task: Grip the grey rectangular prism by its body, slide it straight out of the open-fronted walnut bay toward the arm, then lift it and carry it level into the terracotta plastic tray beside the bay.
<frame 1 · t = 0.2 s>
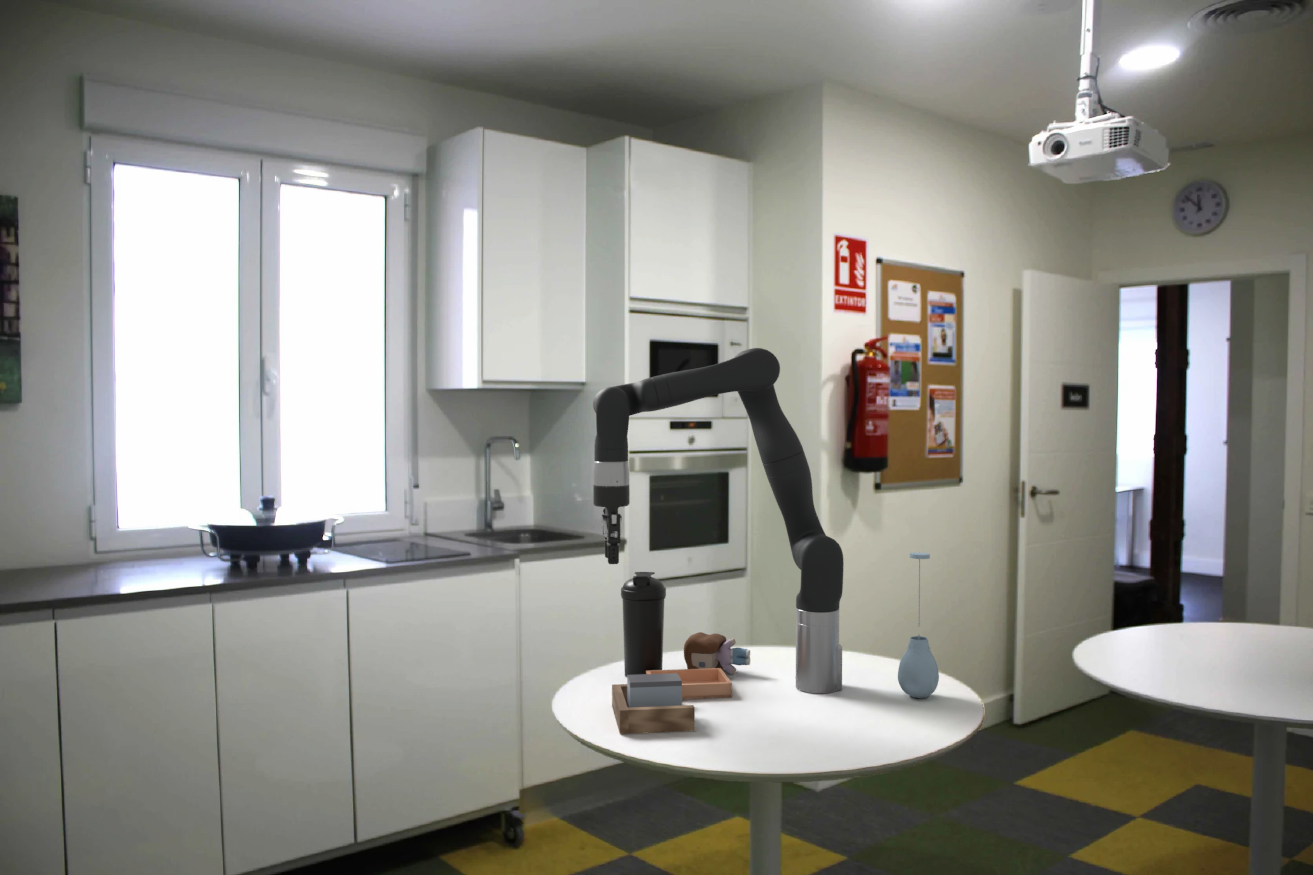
hand: (611, 560, 202), 28 cm above the table, fingers open, 8 cm apart
bay: (651, 717, 189), on the table
toy: (717, 673, 222), on the table
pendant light: (918, 697, 203), on the table
water bottle: (643, 675, 220), on the table
tray: (687, 690, 208), on the table
grey rectangular prism: (654, 718, 189), on the table
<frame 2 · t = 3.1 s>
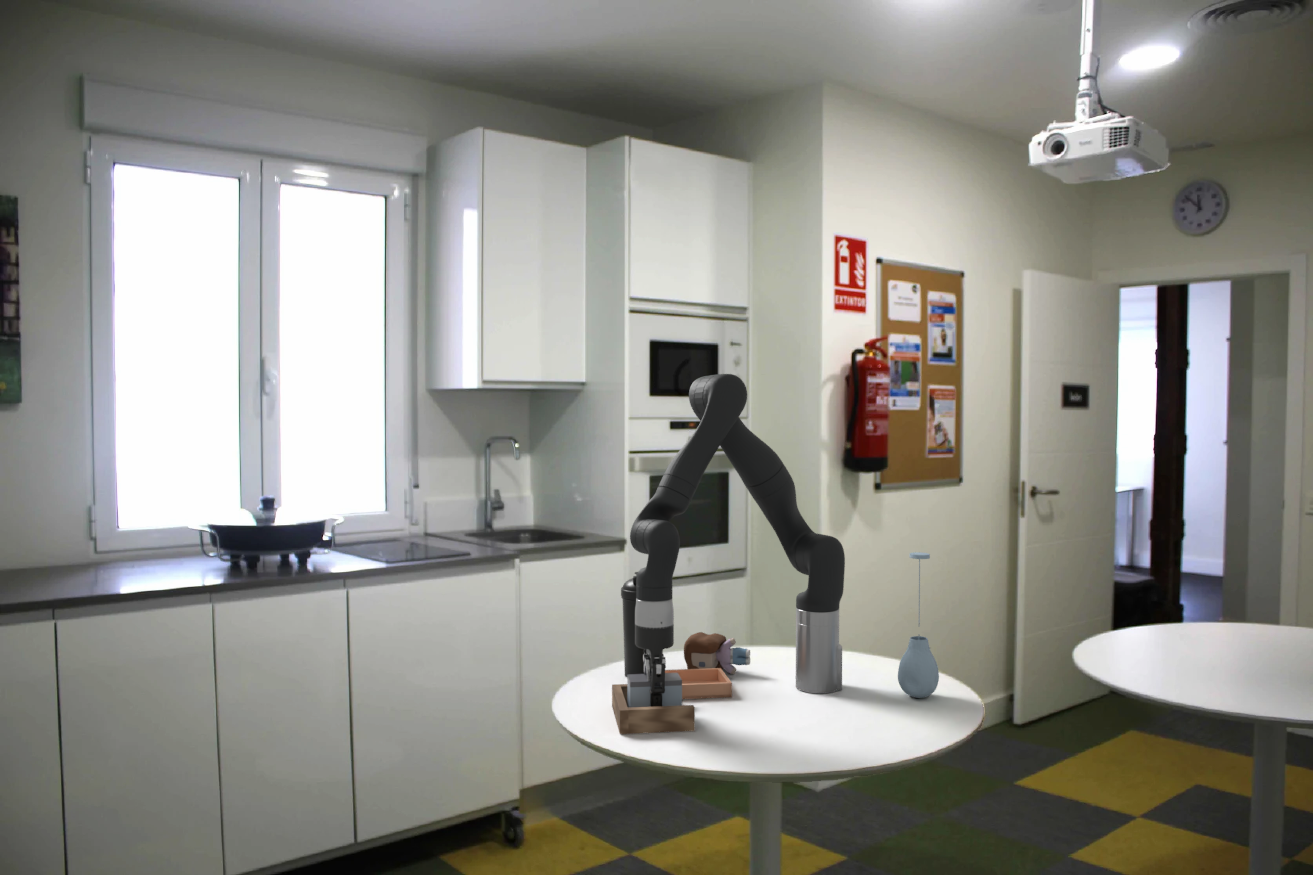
hand: (654, 707, 189), 2 cm above the table, fingers closed on grey rectangular prism, 5 cm apart
grey rectangular prism: (654, 718, 189), on the table, touching gripper
everything else where it was.
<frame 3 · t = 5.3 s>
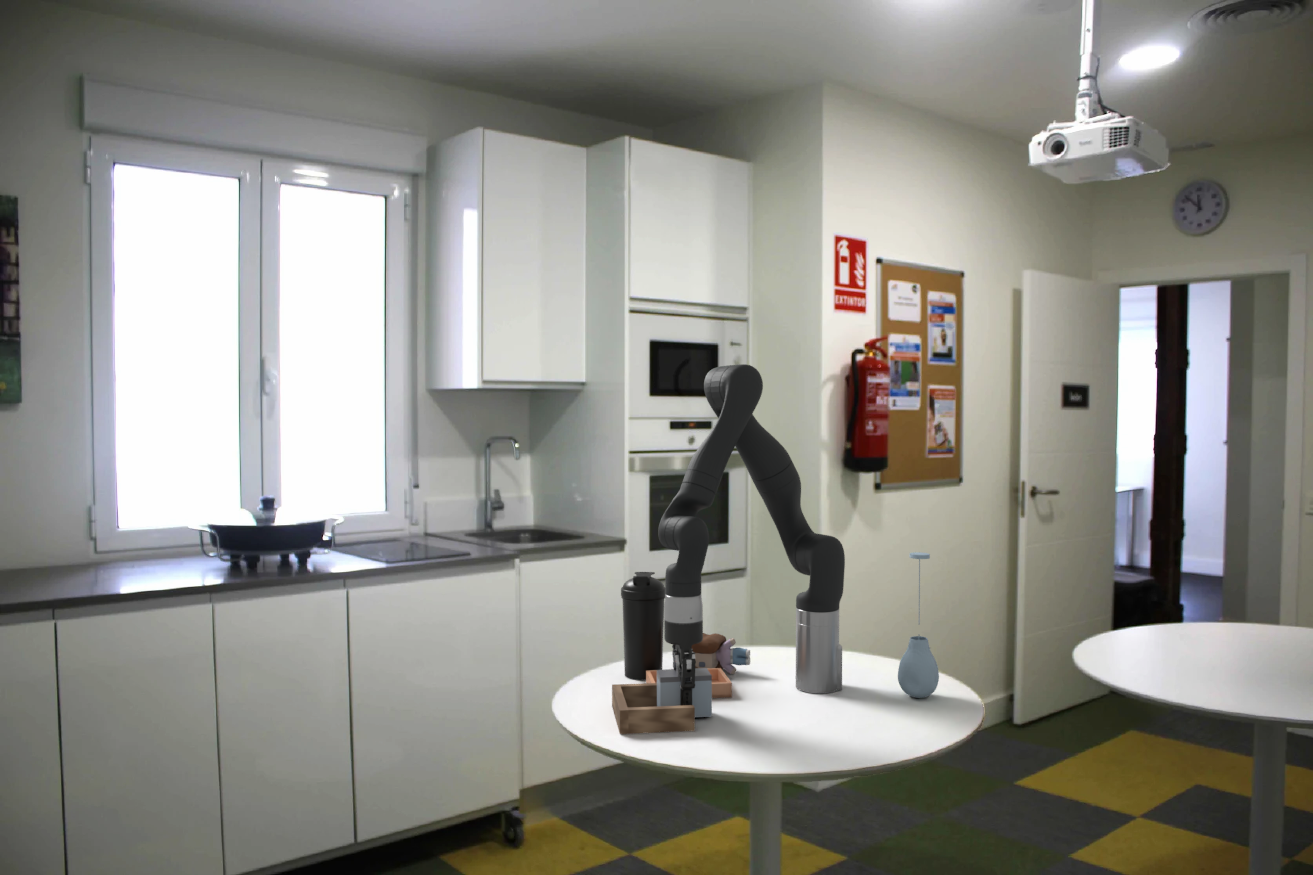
hand: (683, 702, 190), 3 cm above the table, fingers closed on grey rectangular prism, 5 cm apart
grey rectangular prism: (684, 713, 190), point 1 cm above the table, touching gripper
everything else where it was.
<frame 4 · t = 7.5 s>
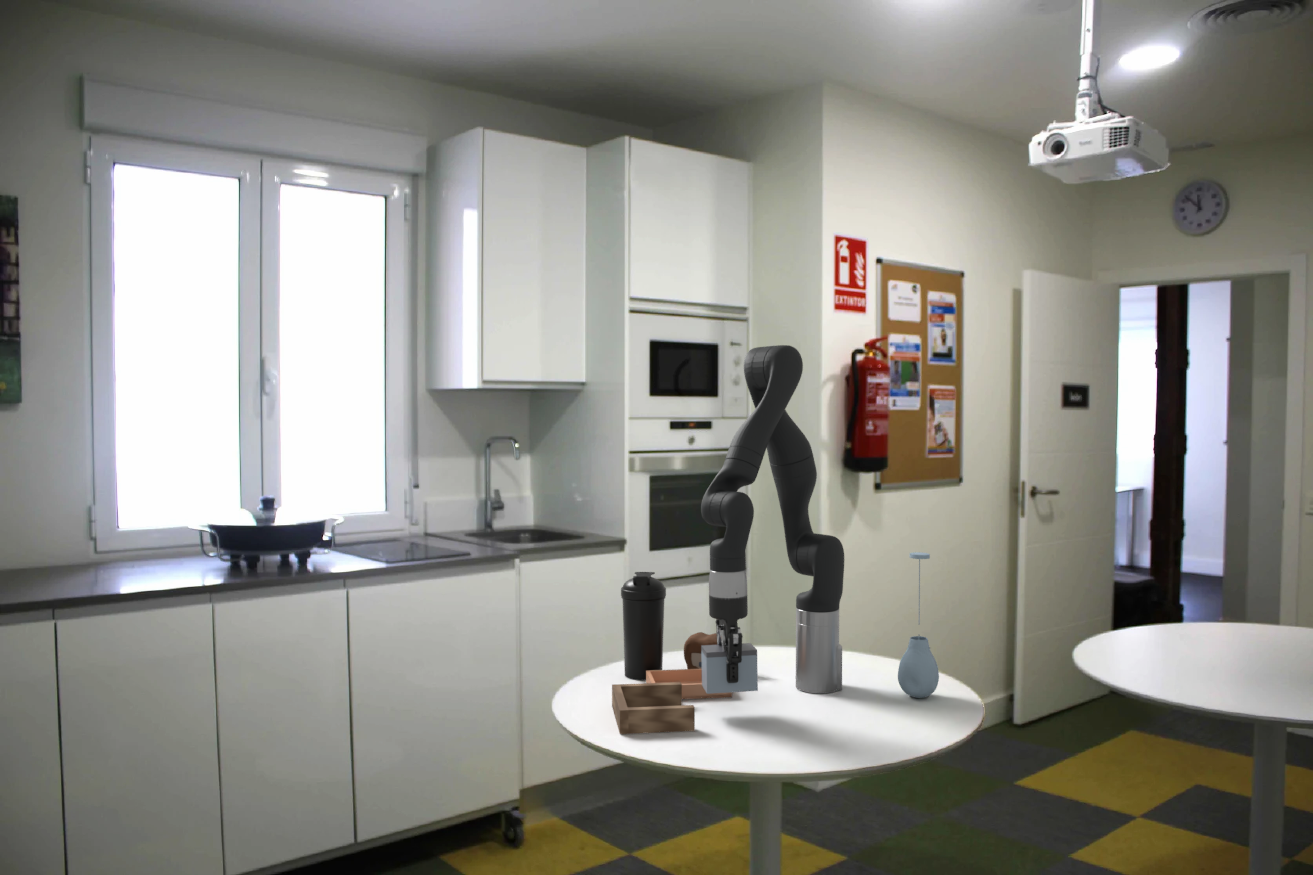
hand: (729, 677, 191), 7 cm above the table, fingers closed on grey rectangular prism, 5 cm apart
grey rectangular prism: (729, 687, 191), point 5 cm above the table, touching gripper
everything else where it was.
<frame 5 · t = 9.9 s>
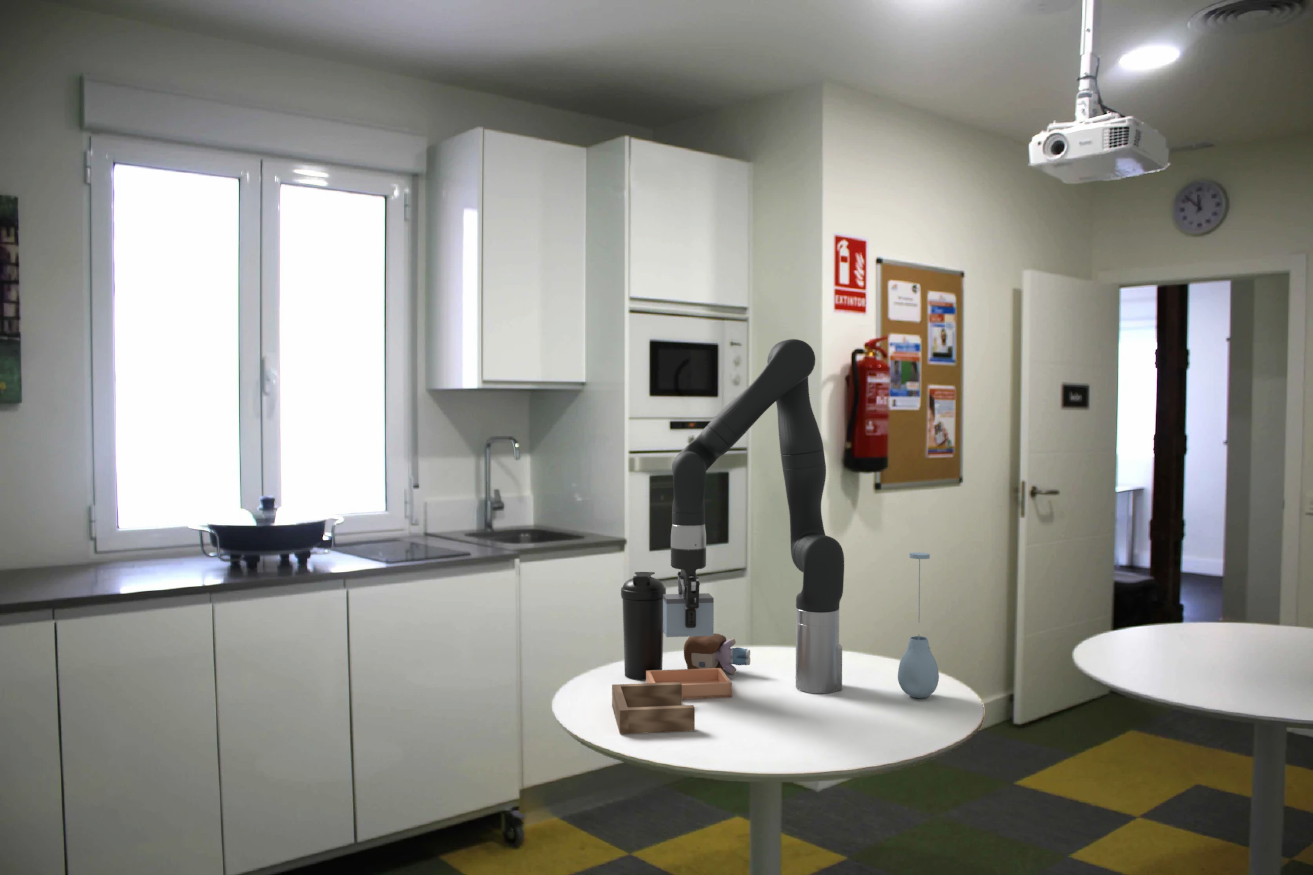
hand: (688, 623, 207), 14 cm above the table, fingers closed on grey rectangular prism, 5 cm apart
grey rectangular prism: (687, 633, 207), point 12 cm above the table, touching gripper
everything else where it was.
when the fingers open (4 cm above the table, at t = 12.1 s): grey rectangular prism drops 1 cm, resting on tray.
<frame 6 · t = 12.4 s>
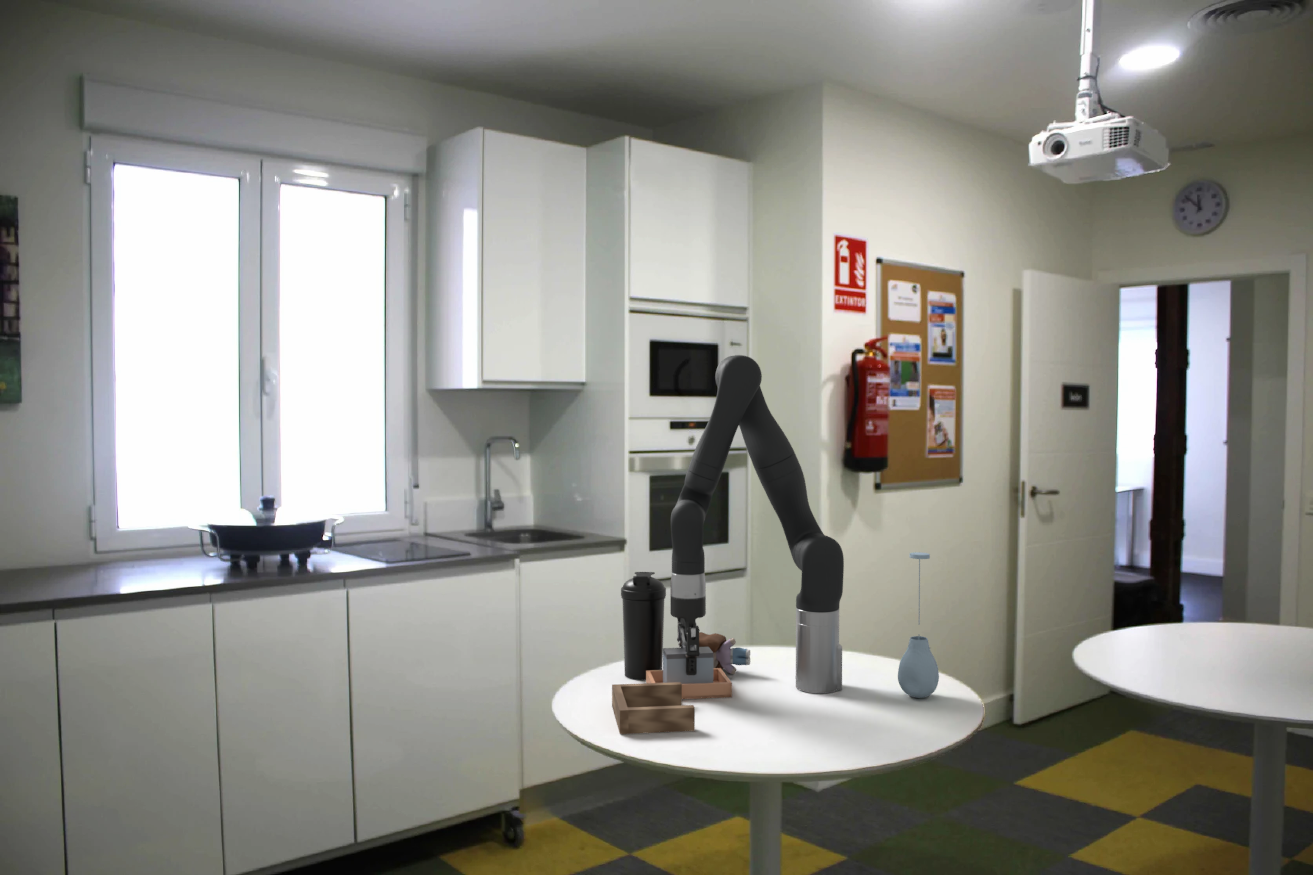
hand: (688, 669, 207), 5 cm above the table, fingers open, 8 cm apart
grey rectangular prism: (687, 687, 208), point 1 cm above the table, touching tray
everything else where it was.
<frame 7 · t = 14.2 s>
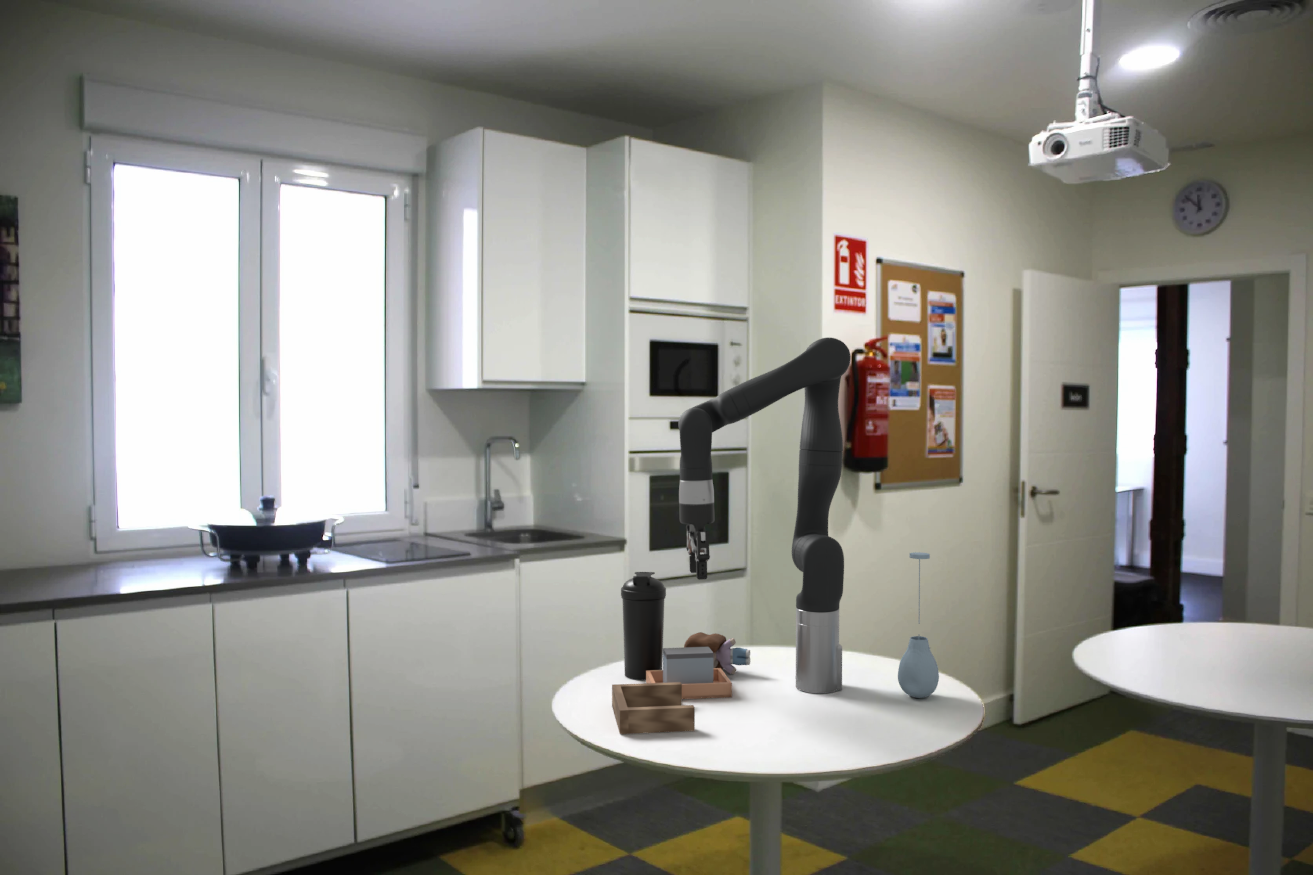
hand: (698, 575, 209), 24 cm above the table, fingers open, 8 cm apart
nothing on the table moved.
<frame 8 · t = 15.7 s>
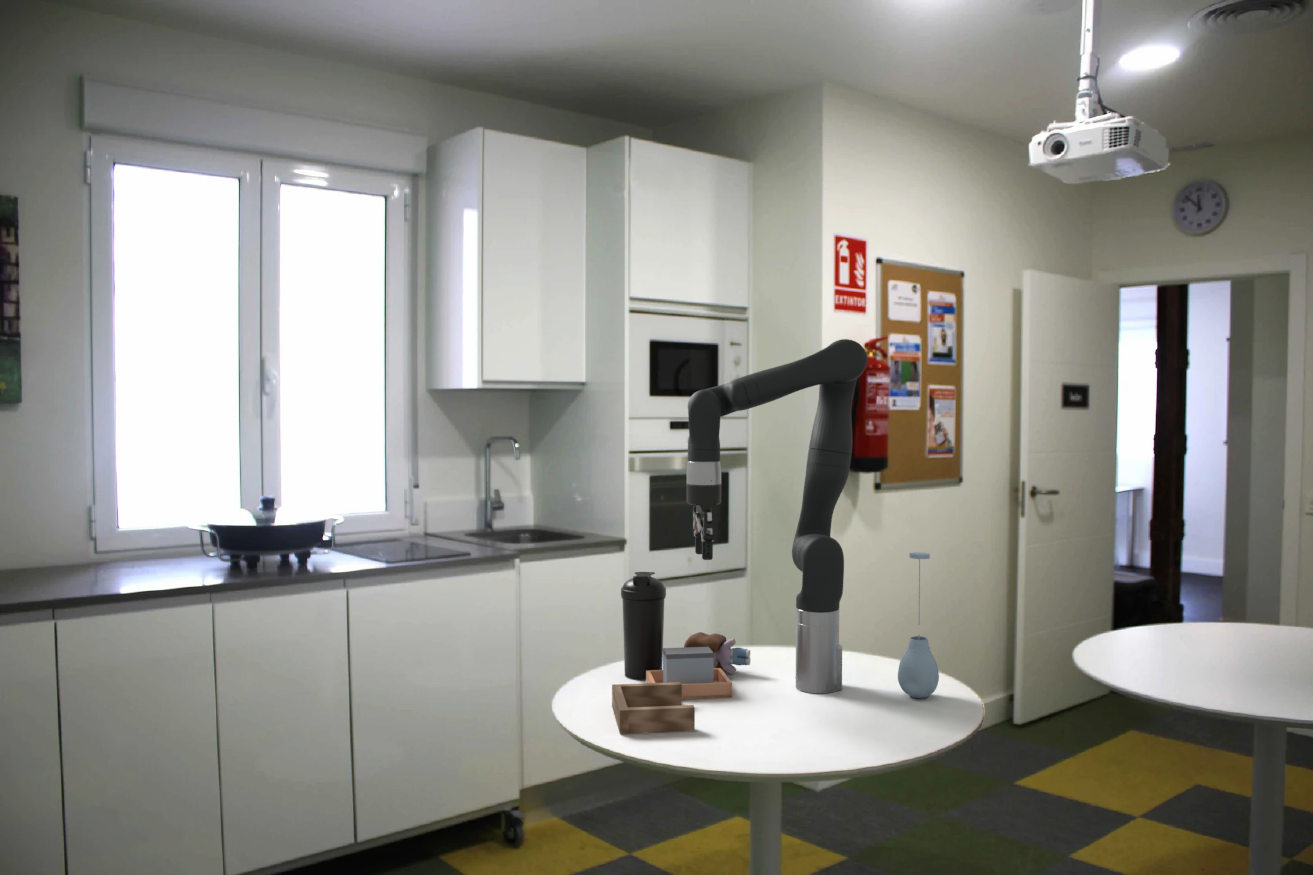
hand: (703, 556, 211), 28 cm above the table, fingers open, 8 cm apart
nothing on the table moved.
at the end: grey rectangular prism 0.1 cm off-centre on the tray, point 0.6 cm above the tray's base; grey rectangular prism tilted 0°; the gripper is holding nothing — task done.
